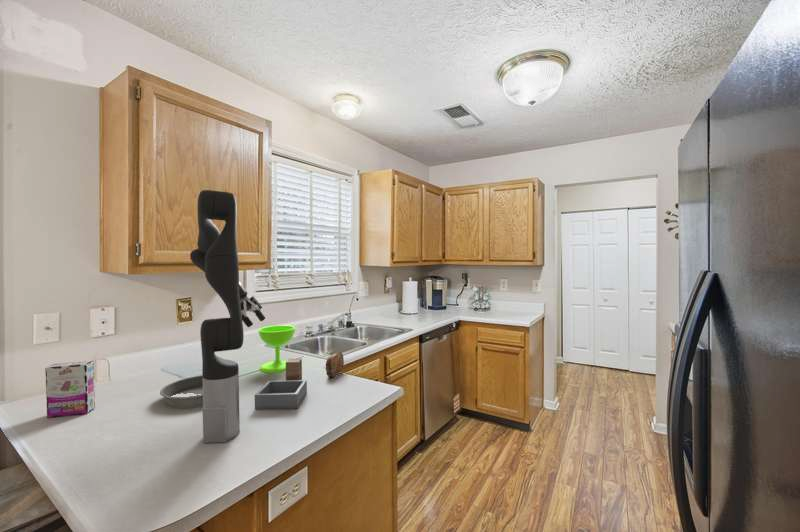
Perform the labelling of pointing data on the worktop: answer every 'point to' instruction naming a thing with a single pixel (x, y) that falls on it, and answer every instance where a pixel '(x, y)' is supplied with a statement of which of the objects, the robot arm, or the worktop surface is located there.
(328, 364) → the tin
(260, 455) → the worktop surface
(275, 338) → the wineglass
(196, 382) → the cake pan
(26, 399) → the worktop surface
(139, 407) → the worktop surface
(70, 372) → the candy bar box
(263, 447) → the worktop surface
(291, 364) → the brown wooden block
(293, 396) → the box
